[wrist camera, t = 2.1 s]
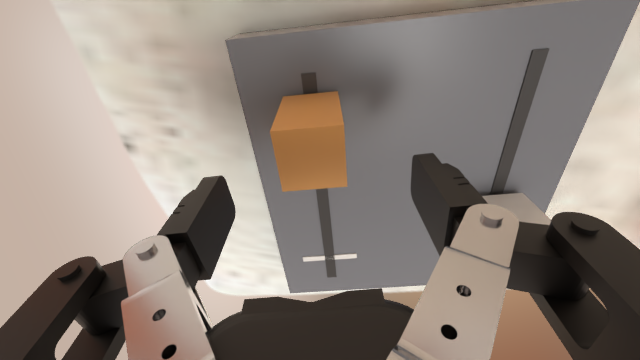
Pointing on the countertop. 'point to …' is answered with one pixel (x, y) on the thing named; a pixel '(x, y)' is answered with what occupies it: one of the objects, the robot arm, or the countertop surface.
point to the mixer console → (423, 121)
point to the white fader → (519, 207)
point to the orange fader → (310, 142)
